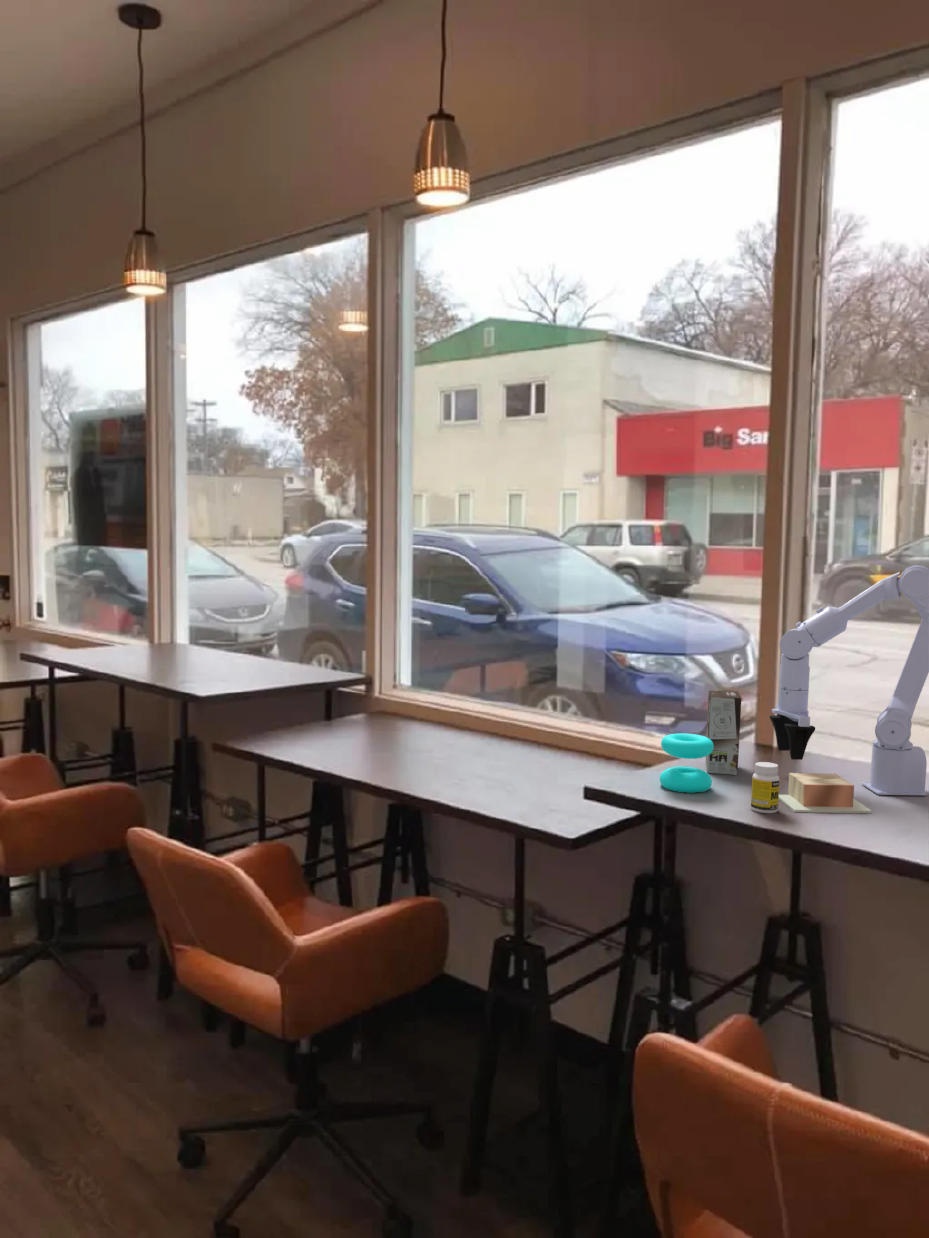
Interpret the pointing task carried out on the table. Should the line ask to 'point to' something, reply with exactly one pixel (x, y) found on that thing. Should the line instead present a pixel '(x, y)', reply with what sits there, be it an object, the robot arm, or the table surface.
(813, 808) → the green board
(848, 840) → the table surface
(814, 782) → the birch slab
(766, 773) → the supplement bottle
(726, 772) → the coffee box
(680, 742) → the donuts
